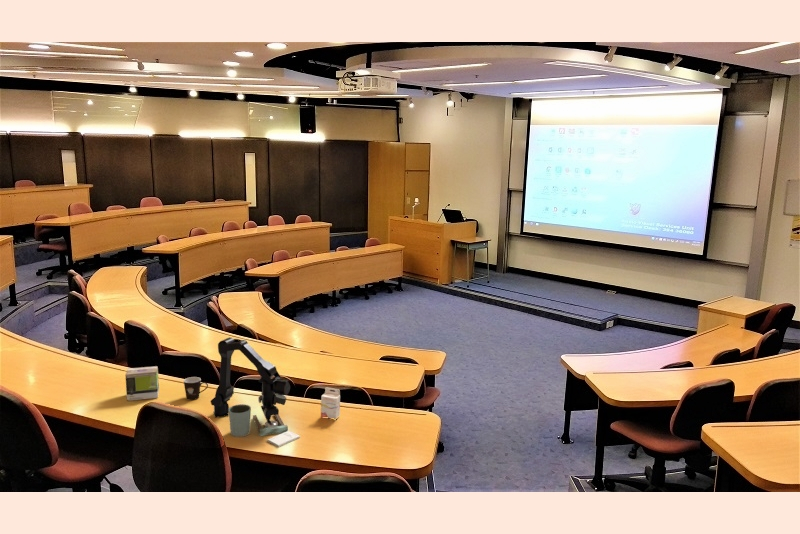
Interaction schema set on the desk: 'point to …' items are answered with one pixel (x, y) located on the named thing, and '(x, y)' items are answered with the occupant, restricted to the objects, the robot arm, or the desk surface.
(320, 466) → the desk surface
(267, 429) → the channel
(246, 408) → the pale green cup
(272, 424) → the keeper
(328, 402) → the ink cartridge box
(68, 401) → the desk surface
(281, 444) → the external hard drive
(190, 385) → the coffee mug
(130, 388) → the tea box
